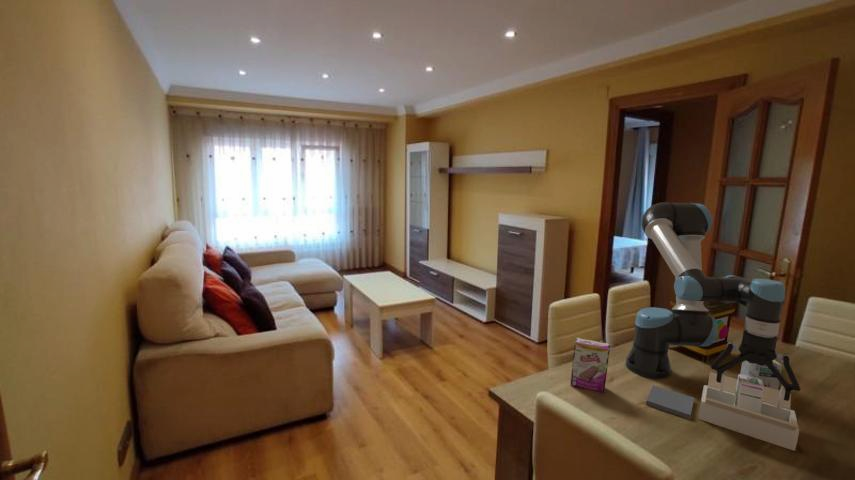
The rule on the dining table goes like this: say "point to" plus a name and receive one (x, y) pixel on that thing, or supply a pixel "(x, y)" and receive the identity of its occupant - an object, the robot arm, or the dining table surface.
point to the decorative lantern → (722, 317)
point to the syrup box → (749, 393)
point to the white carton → (749, 414)
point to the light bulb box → (762, 373)
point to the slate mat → (670, 401)
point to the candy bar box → (590, 364)
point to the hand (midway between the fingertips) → (749, 400)
